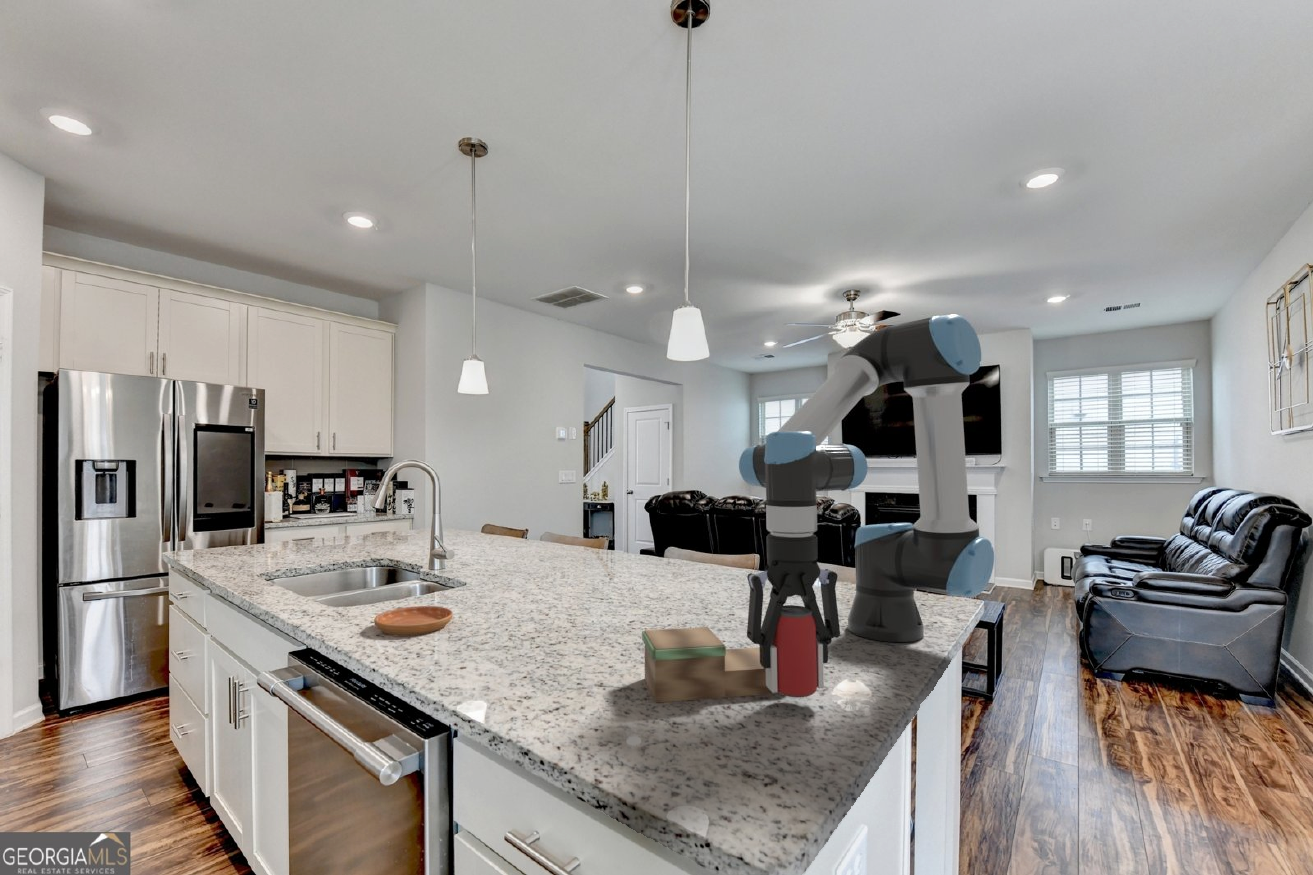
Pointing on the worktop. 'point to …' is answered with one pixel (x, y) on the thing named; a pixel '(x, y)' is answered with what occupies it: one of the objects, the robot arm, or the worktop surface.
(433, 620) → the saucer
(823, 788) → the worktop surface
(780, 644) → the beer can
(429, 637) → the worktop surface
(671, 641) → the step stand
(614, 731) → the worktop surface
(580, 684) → the worktop surface
